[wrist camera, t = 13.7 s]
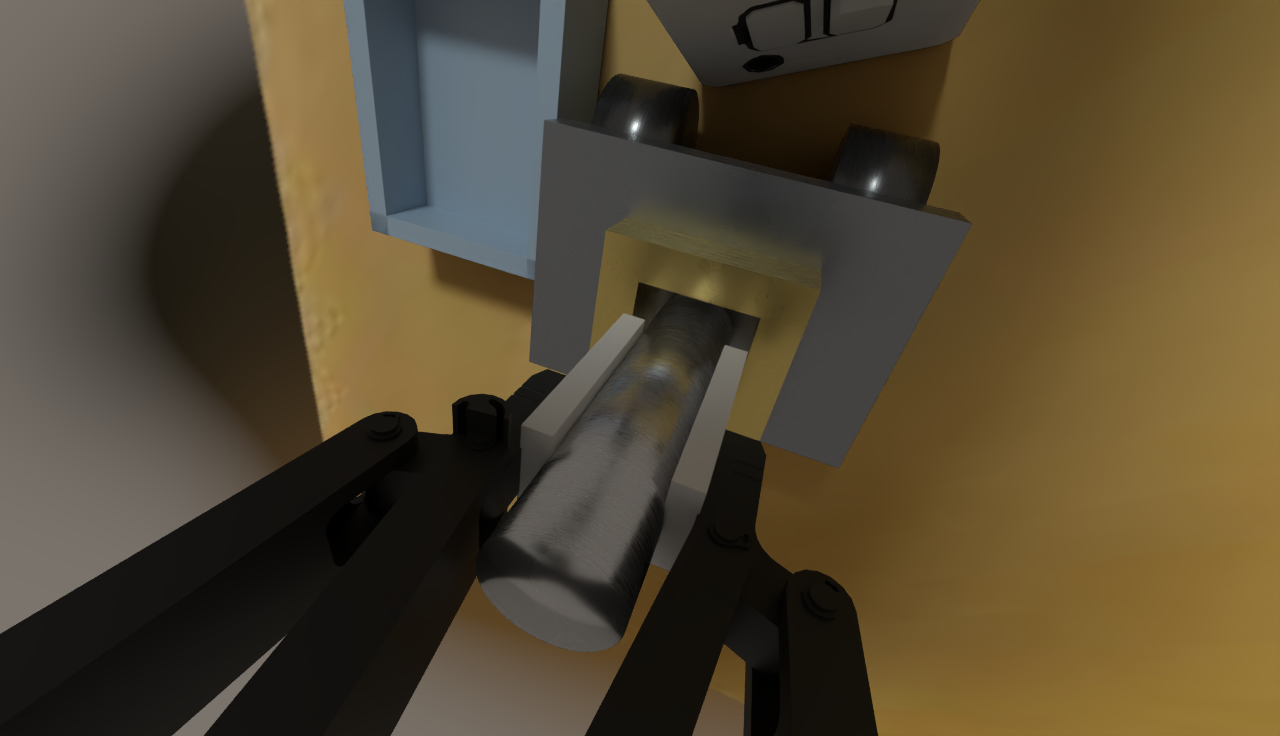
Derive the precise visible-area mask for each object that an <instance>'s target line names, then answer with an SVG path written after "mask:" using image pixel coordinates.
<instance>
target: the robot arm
mask: <svg viewBox="0 0 1280 736" xmlns="http://www.w3.org/2000/svg"><path fill="white" fill-rule="evenodd" d="M644 323H645V320H644V319H641V318H638V317H634V316H631V315H628V314H625V313H623V315H622V316H621V317H620V318H619V319H618V320H617V321H616V322H615V323H614V324H613V325H612V327H611V328H610V329H609V330H608V331H607V332H606V333H605V334H604V335H603V336H602V337H601V339H600V340H599V341H598V342H597V343H596V344H595V345H594V346H593V347H592V348H591V349H590V351H589V352H588V353H587V354H586V355H585V356H584V357H583V358H582V359H581V360H580V361H579V363H578V364H577V365H576V366H575V367H574V368H573V369H572V370H571V371H570V372H569V373H568V375H567V376H566V375H563V374H560V373H557V372H554V371H551V370H548V369H547V370H544V371H542V372H539V373H537V374H535V375H532V376H531V377H530V378H529V379H528V380H527V381H526V382H525V383H524V384H523V385H522V387H520V388H519V389H518V390H517V391H516V392H515V393H514V395H511V396H510V397H509V398H508V399H507V400H506V401H504V400H503V399H501V398H499V397H496V396H494V395H487V394H475V395H469V396H466V397H463V398H460V399H459V400H457V401H456V402H455V403H453V404H452V414H453V434H452V435H450V434H436V433H427V432H418V429H417V425H416V422H415V420H414V419H413V418H412V417H410V416H409V415H407V414H404V413H401V412H389V411H386V412H381V413H375V414H372V415H370V416H368V417H365V418H363V419H361V420H360V421H358V422H356V423H355V424H353V425H351V426H350V427H348V428H346V429H345V430H343V431H341V432H339V433H338V434H336V435H334V436H333V437H331V438H329V439H328V440H326V441H324V442H323V443H321V444H319V445H318V446H316V447H314V448H313V449H311V450H310V451H307V452H306V453H304V454H302V455H301V456H299V457H297V458H296V459H294V460H292V461H291V462H289V463H287V464H286V465H284V466H282V467H281V468H279V469H277V470H275V471H274V472H272V473H270V474H269V475H267V476H265V477H264V478H262V479H260V480H259V481H257V482H255V483H254V484H252V485H250V486H249V487H247V488H245V489H243V490H242V491H240V492H238V493H237V494H235V495H233V496H232V497H230V498H229V499H227V500H225V501H223V502H222V503H220V504H218V505H217V506H215V507H213V508H212V509H210V510H208V511H207V512H205V513H203V514H201V515H200V516H198V517H196V518H195V519H193V520H191V521H190V522H188V523H186V524H184V525H183V526H181V527H179V528H178V529H176V530H175V531H173V532H171V533H170V534H168V535H166V536H164V537H163V538H161V539H159V540H158V541H156V542H155V543H152V544H151V545H149V546H148V547H146V548H144V549H143V550H141V551H139V552H137V553H136V554H134V555H132V556H131V557H129V558H128V559H126V560H124V561H122V562H120V563H119V564H118V565H115V566H114V567H112V568H111V569H109V570H107V571H106V572H104V573H102V574H100V575H99V576H97V577H95V578H94V579H92V580H90V581H88V582H87V583H85V584H83V585H82V586H80V587H78V588H77V589H75V590H73V591H72V592H70V593H68V594H67V595H65V596H63V597H62V598H60V599H58V600H56V601H55V602H53V603H52V604H50V605H48V606H46V607H45V608H43V609H41V610H40V611H38V612H36V613H35V614H33V615H31V616H30V617H28V618H26V619H25V620H23V621H21V622H19V623H18V624H16V625H14V626H13V627H11V628H9V629H8V630H6V631H5V632H3V633H1V634H0V736H172V735H173V734H174V733H175V732H176V731H178V730H179V729H180V728H181V727H182V726H183V725H184V724H186V723H187V722H188V721H189V720H190V719H191V718H192V717H194V716H195V715H196V714H197V713H198V712H199V711H200V710H201V709H203V708H204V707H205V706H206V705H207V704H208V703H209V702H211V701H212V700H213V699H214V698H215V697H216V696H217V695H218V694H220V693H221V692H222V691H223V690H224V689H225V688H227V687H228V686H229V685H230V684H231V683H232V682H233V681H234V680H236V679H237V678H238V677H239V676H240V675H241V674H242V673H244V672H245V671H246V670H247V669H248V668H249V667H250V666H251V665H253V664H254V663H255V662H256V661H257V660H258V659H260V658H261V657H262V656H263V655H264V654H265V653H266V652H267V651H268V650H270V649H271V648H272V647H273V646H274V645H275V644H277V642H279V641H280V640H281V639H282V638H283V637H285V638H284V639H283V640H282V641H281V642H280V644H279V645H278V646H277V647H276V649H275V650H274V651H273V652H272V654H271V655H270V656H269V657H268V658H267V660H266V661H265V662H264V663H263V664H262V666H261V667H260V668H259V669H258V671H257V672H256V673H255V674H254V675H253V676H252V678H251V679H250V680H249V681H248V683H247V684H246V685H245V686H244V688H243V689H242V690H241V691H240V692H239V693H238V695H237V696H236V697H235V698H234V700H233V701H232V702H231V703H230V704H229V706H228V707H227V708H226V709H225V710H224V712H223V713H222V714H221V715H220V717H219V718H218V719H217V720H216V722H215V723H214V724H213V725H212V726H211V727H210V729H209V730H208V731H207V732H206V734H205V735H204V736H390V735H391V734H392V732H393V730H394V728H395V726H396V725H397V723H398V721H399V719H400V717H401V715H402V714H403V712H404V710H405V708H406V706H407V704H408V702H409V701H410V699H411V697H412V695H413V693H414V691H415V689H416V688H417V686H418V684H419V682H420V680H421V678H422V676H423V675H424V673H425V670H426V669H427V667H428V665H429V663H430V662H431V660H432V658H433V656H434V654H435V652H436V651H437V649H438V647H439V645H440V643H441V641H442V639H443V638H444V636H445V634H446V632H447V630H448V628H449V626H450V625H451V623H452V621H453V619H454V617H455V615H456V613H457V612H458V610H459V608H460V606H461V604H462V602H463V600H464V599H465V597H466V595H467V593H468V591H469V589H470V587H471V586H472V584H473V582H474V580H475V578H476V576H477V574H476V567H475V564H476V557H477V554H478V552H479V550H480V549H481V547H482V546H483V545H484V543H485V542H486V541H487V539H488V538H489V537H490V535H491V534H492V533H493V531H494V530H495V529H496V527H497V526H498V525H499V523H500V522H501V521H502V519H503V518H504V517H505V515H506V514H507V508H508V506H509V505H510V503H511V502H512V501H513V499H514V498H515V497H516V495H517V499H518V498H519V497H520V495H521V494H522V493H523V491H524V490H525V489H526V487H527V486H528V485H529V483H530V482H531V481H532V479H533V478H534V477H535V475H536V474H537V473H538V471H539V470H540V469H541V467H542V466H543V465H544V463H545V462H546V461H547V460H548V459H549V458H550V456H551V455H552V454H553V452H554V451H555V450H556V448H557V447H558V446H559V444H560V443H561V442H562V440H563V439H564V438H565V437H566V435H567V434H568V433H569V431H570V430H571V429H572V427H573V426H574V425H575V423H576V422H577V421H578V419H579V418H580V417H581V415H582V414H583V413H584V411H585V410H586V409H587V407H588V406H589V405H590V403H591V402H592V401H593V399H594V398H595V397H596V395H597V394H598V393H599V391H600V390H601V389H602V387H603V386H604V385H605V383H606V382H607V381H608V379H609V378H610V377H611V375H612V374H613V373H614V371H615V370H616V369H617V367H618V366H619V365H620V363H621V362H622V361H623V359H624V358H625V357H626V355H627V354H628V353H629V351H630V350H631V349H632V347H633V346H634V345H635V343H636V342H637V341H638V339H639V338H640V337H641V335H642V333H643V328H644ZM747 354H748V352H746V351H743V350H740V349H737V348H734V347H730V346H727V345H725V346H724V348H723V351H722V353H721V356H720V358H719V361H718V364H717V366H716V369H715V371H714V374H713V376H712V379H711V381H710V384H709V386H708V389H707V391H706V394H705V397H704V399H703V402H702V404H701V407H700V409H699V412H698V414H697V417H696V419H695V422H694V424H693V427H692V430H691V432H690V435H689V437H688V440H687V442H686V445H685V447H684V450H683V452H682V455H681V457H680V460H679V463H678V465H677V468H676V470H675V473H674V475H673V478H672V480H671V484H670V487H669V490H668V494H667V497H666V500H665V504H664V509H665V522H664V526H663V529H662V532H661V535H660V537H659V540H658V543H657V546H656V548H655V551H654V554H653V557H652V559H651V562H650V564H653V565H655V566H657V567H660V568H662V569H665V570H667V571H670V572H669V574H668V576H667V578H666V580H665V582H664V583H663V585H662V587H661V589H660V591H659V593H658V595H657V597H656V599H655V601H654V603H653V605H652V607H651V609H650V611H649V612H648V614H647V616H646V618H645V620H644V622H643V624H642V626H641V628H640V630H639V632H638V634H637V636H636V638H635V640H634V642H633V643H632V645H631V647H630V649H629V651H628V653H627V655H626V657H625V659H624V661H623V663H622V665H621V667H620V669H619V671H618V673H617V674H616V676H615V678H614V680H613V682H612V684H611V686H610V688H609V690H608V692H607V694H606V696H605V698H604V700H603V702H602V703H601V705H600V707H599V709H598V711H597V713H596V715H595V717H594V719H593V721H592V723H591V725H590V727H589V729H588V731H587V732H586V735H585V736H692V734H693V731H694V728H695V725H696V722H697V719H698V716H699V713H700V711H701V708H702V705H703V702H704V699H705V696H706V692H707V690H708V687H709V684H710V682H711V679H712V676H713V673H714V670H715V667H716V664H717V661H718V658H719V655H720V652H721V650H722V647H723V644H725V645H726V646H727V647H729V648H730V649H731V650H732V651H733V652H735V653H736V654H737V655H738V656H739V657H741V658H742V659H743V660H744V661H745V662H746V672H745V704H744V736H878V733H877V727H876V721H875V715H874V710H873V704H872V698H871V692H870V687H869V681H868V675H867V670H866V664H865V658H864V652H863V647H862V641H861V635H860V630H859V624H858V618H857V612H856V609H855V607H854V604H853V601H852V599H851V597H850V596H849V595H848V593H847V592H846V591H845V589H844V588H843V587H842V586H841V585H840V584H838V583H837V582H836V581H835V580H834V579H832V578H831V577H829V576H827V575H825V574H823V573H821V572H818V571H812V570H802V571H799V572H795V573H794V574H792V573H791V572H789V571H788V570H787V569H785V568H784V567H782V566H781V565H779V564H778V563H777V562H776V561H774V560H773V559H772V558H771V557H770V556H769V555H768V554H767V553H766V552H765V551H764V550H763V548H762V547H761V545H760V543H759V541H758V539H757V536H756V532H755V523H756V517H757V511H758V504H759V498H760V491H761V485H762V484H761V483H762V479H763V471H764V466H765V460H766V454H765V452H764V449H763V447H762V444H761V442H760V441H758V440H755V439H752V438H749V437H746V436H743V435H740V434H738V433H735V432H732V431H729V430H726V426H727V423H728V419H729V416H730V412H731V409H732V405H733V402H734V399H735V395H736V392H737V388H738V385H739V381H740V378H741V375H742V371H743V368H744V364H745V361H746V358H747ZM361 493H362V494H361ZM360 494H361V495H360ZM358 495H359V496H358ZM357 496H358V497H357ZM355 497H356V498H355Z"/></svg>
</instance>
